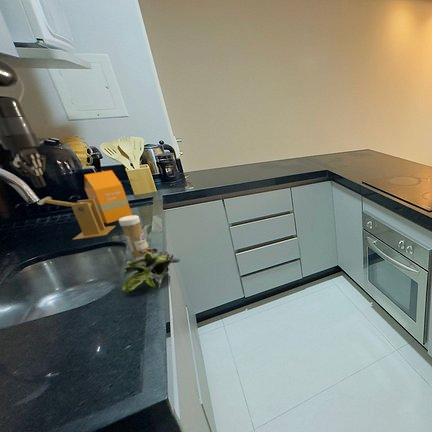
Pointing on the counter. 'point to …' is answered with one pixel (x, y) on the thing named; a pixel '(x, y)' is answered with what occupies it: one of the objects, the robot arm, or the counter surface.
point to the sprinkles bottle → (134, 235)
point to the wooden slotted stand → (89, 219)
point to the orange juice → (107, 195)
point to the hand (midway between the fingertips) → (40, 186)
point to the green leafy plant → (147, 268)
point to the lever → (56, 202)
